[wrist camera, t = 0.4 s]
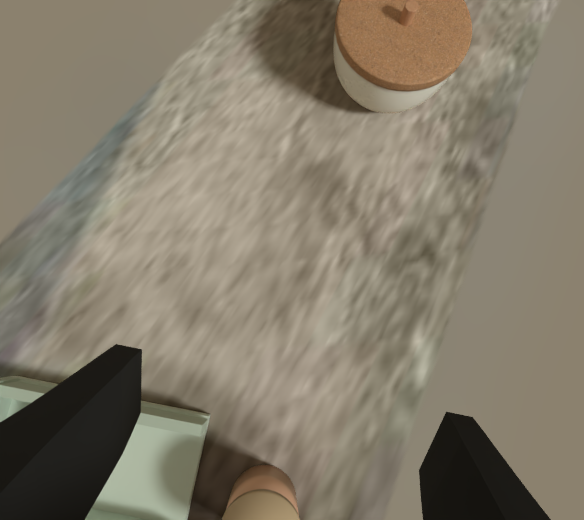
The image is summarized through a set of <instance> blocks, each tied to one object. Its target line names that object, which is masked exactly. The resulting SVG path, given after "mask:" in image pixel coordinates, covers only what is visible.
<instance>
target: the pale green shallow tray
mask: <svg viewBox="0 0 584 520" xmlns="http://www.w3.org/2000/svg"><path fill="white" fill-rule="evenodd" d="M57 385H58V384H56V383H51V382H46V381H41V380H36V379H31V378H26V377H21V376H9V377H1V378H0V422H1V421H3V420H5V419H6V418H8V417H10V416H11V415H13V414H14V413H16V412H18V411H19V410H21V409H22V408H24V407H26V406H27V405H29V404H30V403H32V402H33V401H35V400H36V399H38V398H39V397H41V396H42V395H44V394H45V393H47V392H48V391H49V390H51V389H52V388H54V387H55V386H57ZM209 419H210V414H207V413H202V412H197V411H192V410H186V409H181V408H176V407H171V406H166V405H161V404H156V403H151V402H146V401H141V413H140V416H139V418H138V420H137V423H136V425H135V427H134V430H133V432H132V434H131V437H130V439H129V441H128V443H127V445H126V448H125V450H124V452H123V454H122V456H121V458H120V460H119V461H118V463H117V465H116V467H115V468H114V470H113V472H112V474H111V475H110V477H109V479H108V481H107V482H106V484H105V486H104V487H103V489H102V491H101V493H100V494H99V496H98V498H97V499H96V501H95V503H94V505H93V506H92V508H91V510H90V511H89V513H88V515H87V517H86V518H85V520H187V518H188V513H189V509H190V504H191V500H192V495H193V491H194V486H195V482H196V477H197V473H198V468H199V464H200V459H201V455H202V450H203V446H204V441H205V437H206V432H207V428H208V423H209Z"/></svg>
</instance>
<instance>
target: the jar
mask: <svg viewBox="0 0 584 520" xmlns="http://www.w3.org/2000/svg"><path fill="white" fill-rule="evenodd" d="M222 520H300V517H299V514H298V507H297V499H296V492H295V488H294V486H293V483H292V481H291V480H290V478H289V477H288V476H287V475H286V474H285V473H284V472H283V471H282V470H280V469H279V468H277V467H274V466H271V465H257V466H254V467H251V468H249V469H247V470H246V471H244V472H243V473H242V474H241V475H240V476H239V477H238V479H237V480H236V482H235V483H234V485H233V488H232V491H231V494H230V498H229V501H228V504H227V508H226V511H225V513H224V515H223V517H222Z"/></svg>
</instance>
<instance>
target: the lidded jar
mask: <svg viewBox="0 0 584 520" xmlns="http://www.w3.org/2000/svg"><path fill="white" fill-rule="evenodd" d="M471 37H472V22H471V18H470V14H469V11H468V8H467V6H466V3H465V2H464V0H340V3H339V5H338V9H337V14H336V20H335V33H334V51H333V57H334V63H335V69H336V73H337V76H338V78H339V81H340V83H341V85H342V86H343V88H344V90H345V91H346V92H347V94H348V95H349V96H350V97H351V98H352V99H353V100H354V101H355V102H357V103H358V104H360V105H361V106H363V107H365V108H367V109H369V110H372V111H375V112H380V113H400V112H404V111H407V110H410V109H412V108H414V107H417V106H419V105H421V104H422V103H424V102H425V101H427V100H428V99H429V98H430V97H432V96H433V95H434V94H435V93H436V92H437V91H438V90H439V89H440V88H441V87H442V86H443V85H444V83H445V82H446V81H447V80H448V78H449V77H450V76H451V74H452V73H453V72H454V71H455V70H456V69H457V67H458V66H459V65H460V63H461V62H462V61H463V59H464V57H465V55H466V53H467V51H468V49H469V46H470V43H471Z"/></svg>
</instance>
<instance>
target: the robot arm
mask: <svg viewBox="0 0 584 520" xmlns="http://www.w3.org/2000/svg"><path fill="white" fill-rule="evenodd" d="M141 365H142V349H137V348H132V347H127V346H122V345H117V344H116V345H114V346H113V347H111V348H110V349H108V350H107V351H105V352H104V353H103V354H101V355H100V356H98V357H97V358H96V359H94V360H93V361H91V362H90V363H88V364H87V365H86V366H84V367H83V368H81V369H80V370H79V371H77V372H76V373H74V374H73V375H71V376H70V377H69V378H67V379H66V380H64V381H63V382H61V383H60V384H58V385H57V386H55V387H54V388H52V389H51V390H49V391H48V392H47V393H45V394H44V395H42V396H41V397H39V398H38V399H36V400H35V401H33V402H32V403H30V404H29V405H27V406H26V407H24V408H22V409H21V410H19V411H18V412H16V413H14V414H13V415H11V416H10V417H8V418H6V419H5V420H3V421H1V422H0V520H85V518H86V517H87V515H88V513H89V511H90V510H91V508H92V506H93V505H94V503H95V501H96V499H97V498H98V496H99V494H100V493H101V491H102V489H103V487H104V486H105V484H106V482H107V481H108V479H109V477H110V475H111V474H112V472H113V470H114V468H115V467H116V465H117V463H118V461H119V460H120V458H121V456H122V454H123V452H124V450H125V448H126V445H127V443H128V441H129V439H130V437H131V434H132V432H133V430H134V427H135V425H136V423H137V420H138V418H139V416H140V413H141ZM419 475H420V490H421V502H422V513H423V520H551V519H550V518H549V517H548V516H547V514H546V513H545V512H544V511H543V509H542V508H541V507H540V506H539V504H538V503H537V502H536V500H535V499H534V498H533V497H532V495H531V494H530V493H529V492H528V490H527V489H526V488H525V486H524V485H523V484H522V482H521V481H520V480H519V478H518V477H517V476H516V475H515V473H514V472H513V470H512V469H511V468H510V467H509V465H508V464H507V462H506V461H505V460H504V458H503V457H502V456H501V454H500V453H499V452H498V450H497V449H496V448H495V446H494V445H493V444H492V442H491V441H490V440H489V438H488V437H487V435H486V434H485V433H484V431H483V430H482V429H481V428H480V426H479V425H478V424H477V422H476V421H475V420H474V419H473V417H469V416H464V415H459V414H454V413H450V412H446V414H445V416H444V418H443V420H442V422H441V424H440V426H439V429H438V431H437V433H436V435H435V437H434V440H433V442H432V444H431V446H430V448H429V450H428V452H427V454H426V457H425V459H424V461H423V463H422V465H421V468H420V470H419Z"/></svg>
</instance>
